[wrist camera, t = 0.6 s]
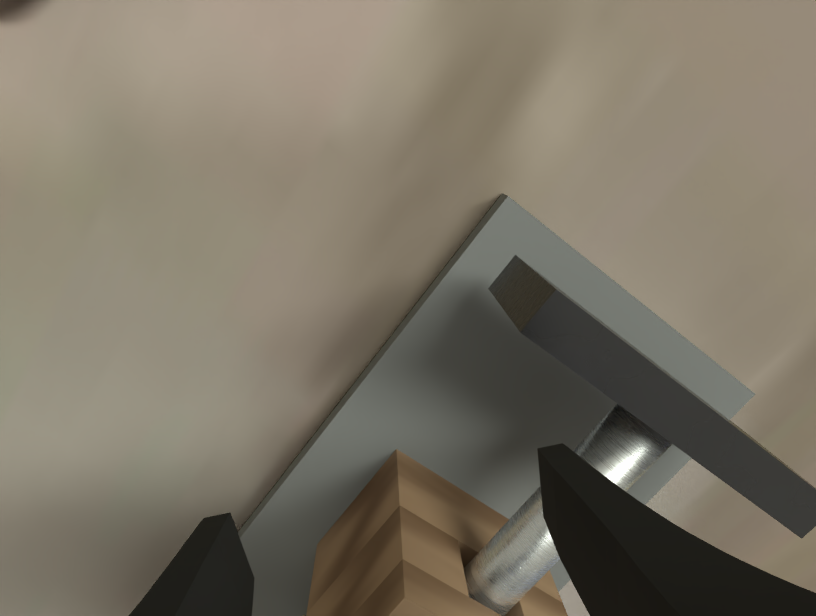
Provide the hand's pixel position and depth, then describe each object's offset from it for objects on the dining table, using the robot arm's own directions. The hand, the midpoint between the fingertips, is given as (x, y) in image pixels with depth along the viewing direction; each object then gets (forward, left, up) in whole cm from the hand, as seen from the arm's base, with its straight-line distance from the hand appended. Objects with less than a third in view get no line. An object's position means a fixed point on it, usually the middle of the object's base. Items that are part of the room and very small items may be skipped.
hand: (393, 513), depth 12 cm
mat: (-9, 0, -11) cm, 14 cm away
